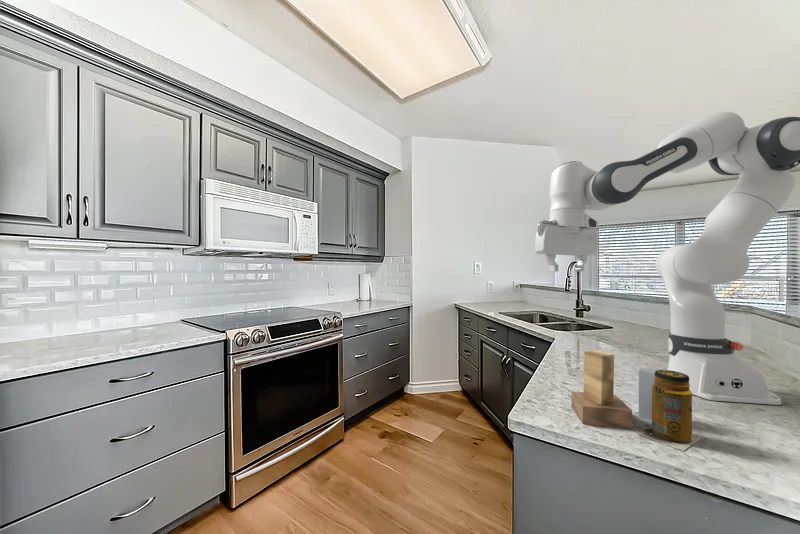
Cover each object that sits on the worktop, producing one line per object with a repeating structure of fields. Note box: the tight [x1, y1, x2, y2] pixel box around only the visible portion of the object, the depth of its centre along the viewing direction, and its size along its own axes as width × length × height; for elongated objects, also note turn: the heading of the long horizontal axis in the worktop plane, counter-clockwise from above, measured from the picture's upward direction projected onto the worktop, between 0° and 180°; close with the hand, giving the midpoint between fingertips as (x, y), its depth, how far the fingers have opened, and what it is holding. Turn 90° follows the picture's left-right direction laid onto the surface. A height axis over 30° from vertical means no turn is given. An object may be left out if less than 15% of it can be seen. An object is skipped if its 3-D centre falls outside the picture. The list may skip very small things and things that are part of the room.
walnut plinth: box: [570, 391, 633, 430], centre depth 75 cm, size 9×9×4 cm
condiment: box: [636, 369, 701, 452], centre depth 66 cm, size 7×8×12 cm
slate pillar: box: [638, 367, 658, 422], centre depth 74 cm, size 4×4×10 cm
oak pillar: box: [583, 350, 615, 404], centre depth 75 cm, size 4×4×10 cm
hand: (566, 271), depth 96 cm, fingers open, 8 cm apart
